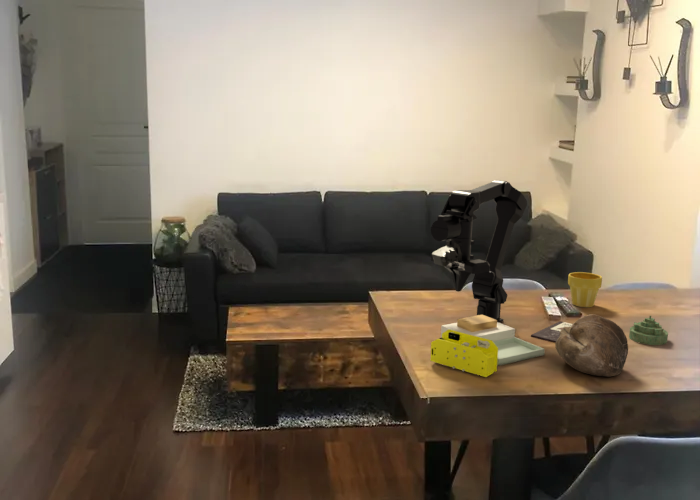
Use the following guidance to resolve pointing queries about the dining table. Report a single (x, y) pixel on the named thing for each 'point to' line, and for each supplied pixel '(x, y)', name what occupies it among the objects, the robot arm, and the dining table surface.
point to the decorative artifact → (648, 332)
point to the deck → (484, 331)
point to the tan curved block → (476, 323)
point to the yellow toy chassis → (465, 353)
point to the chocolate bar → (551, 332)
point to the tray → (516, 350)
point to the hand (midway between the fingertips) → (458, 291)
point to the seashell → (593, 346)
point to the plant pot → (584, 288)
